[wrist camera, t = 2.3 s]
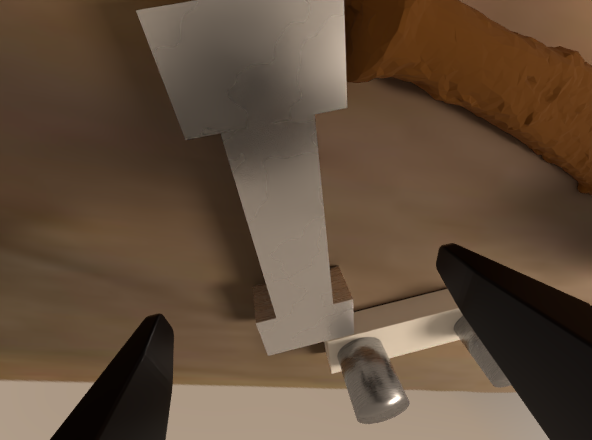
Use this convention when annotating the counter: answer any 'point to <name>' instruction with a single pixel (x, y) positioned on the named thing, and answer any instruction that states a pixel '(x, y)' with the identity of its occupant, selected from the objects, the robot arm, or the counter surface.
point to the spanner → (266, 139)
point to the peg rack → (400, 350)
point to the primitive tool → (479, 72)
